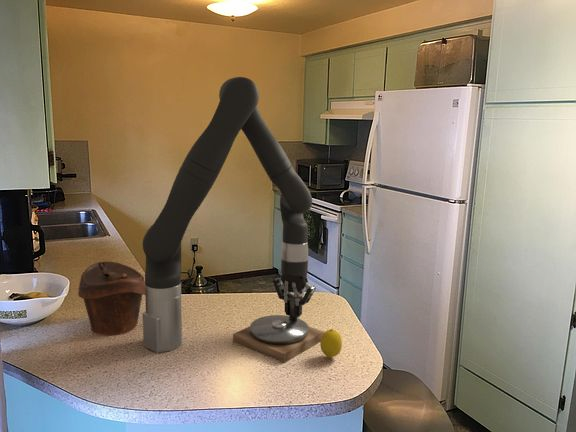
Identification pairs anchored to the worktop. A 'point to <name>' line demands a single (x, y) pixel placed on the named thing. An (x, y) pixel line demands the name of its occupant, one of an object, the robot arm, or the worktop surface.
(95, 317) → the chocolate muffin
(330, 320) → the worktop surface
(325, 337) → the lemon
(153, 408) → the worktop surface
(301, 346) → the wheel stand
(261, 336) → the handwheel
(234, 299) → the worktop surface
